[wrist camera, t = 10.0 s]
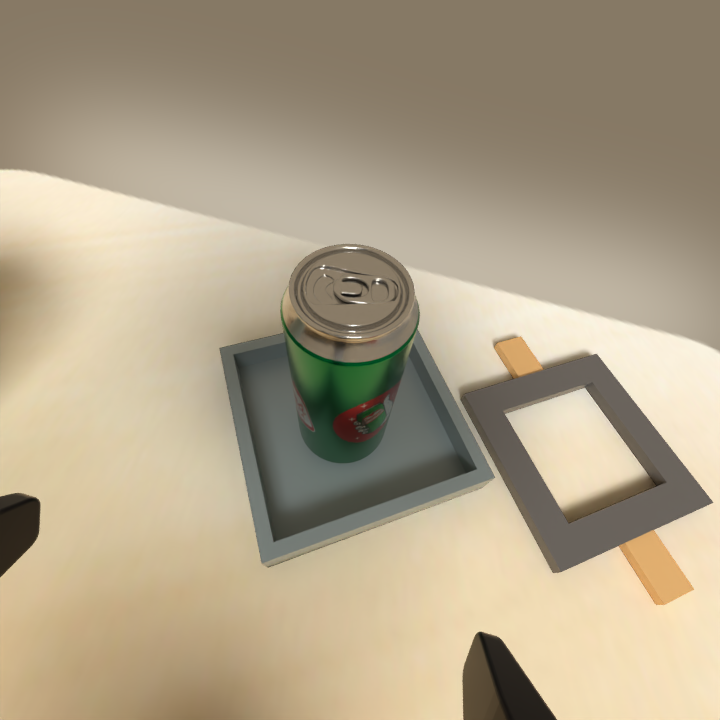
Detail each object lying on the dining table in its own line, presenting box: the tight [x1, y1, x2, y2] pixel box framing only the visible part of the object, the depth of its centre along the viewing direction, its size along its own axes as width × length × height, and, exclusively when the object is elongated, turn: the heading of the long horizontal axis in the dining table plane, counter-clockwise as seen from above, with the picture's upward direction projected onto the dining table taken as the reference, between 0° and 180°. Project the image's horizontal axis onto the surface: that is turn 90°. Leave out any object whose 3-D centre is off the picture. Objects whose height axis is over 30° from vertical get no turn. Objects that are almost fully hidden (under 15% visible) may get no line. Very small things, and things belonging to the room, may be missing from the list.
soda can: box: [280, 244, 420, 463], centre depth 18 cm, size 5×5×12 cm
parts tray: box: [220, 329, 495, 567], centre depth 23 cm, size 12×12×2 cm
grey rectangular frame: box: [461, 337, 713, 605], centre depth 24 cm, size 11×17×1 cm, turn 19°
